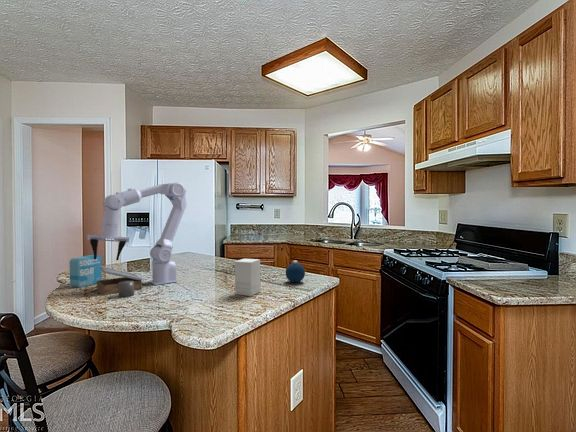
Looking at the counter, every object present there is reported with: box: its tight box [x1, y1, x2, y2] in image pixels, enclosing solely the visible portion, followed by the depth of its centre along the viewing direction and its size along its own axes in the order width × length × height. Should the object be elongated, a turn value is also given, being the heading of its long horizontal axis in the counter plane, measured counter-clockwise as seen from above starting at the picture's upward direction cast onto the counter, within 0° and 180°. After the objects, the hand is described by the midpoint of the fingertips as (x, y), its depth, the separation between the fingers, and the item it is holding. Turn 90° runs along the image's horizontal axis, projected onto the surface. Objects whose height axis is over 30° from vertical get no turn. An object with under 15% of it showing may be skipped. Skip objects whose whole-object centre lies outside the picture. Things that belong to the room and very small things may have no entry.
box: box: [96, 277, 143, 296], centre depth 135 cm, size 14×12×3 cm
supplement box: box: [234, 258, 262, 297], centre depth 128 cm, size 7×7×13 cm
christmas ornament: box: [285, 260, 306, 284], centre depth 145 cm, size 8×8×10 cm
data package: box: [69, 254, 103, 288], centre depth 144 cm, size 12×4×12 cm, turn 163°
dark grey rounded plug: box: [118, 281, 135, 298], centre depth 126 cm, size 5×5×5 cm
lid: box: [99, 266, 143, 281], centre depth 136 cm, size 14×12×1 cm
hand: (106, 259), depth 132 cm, fingers open, 7 cm apart
